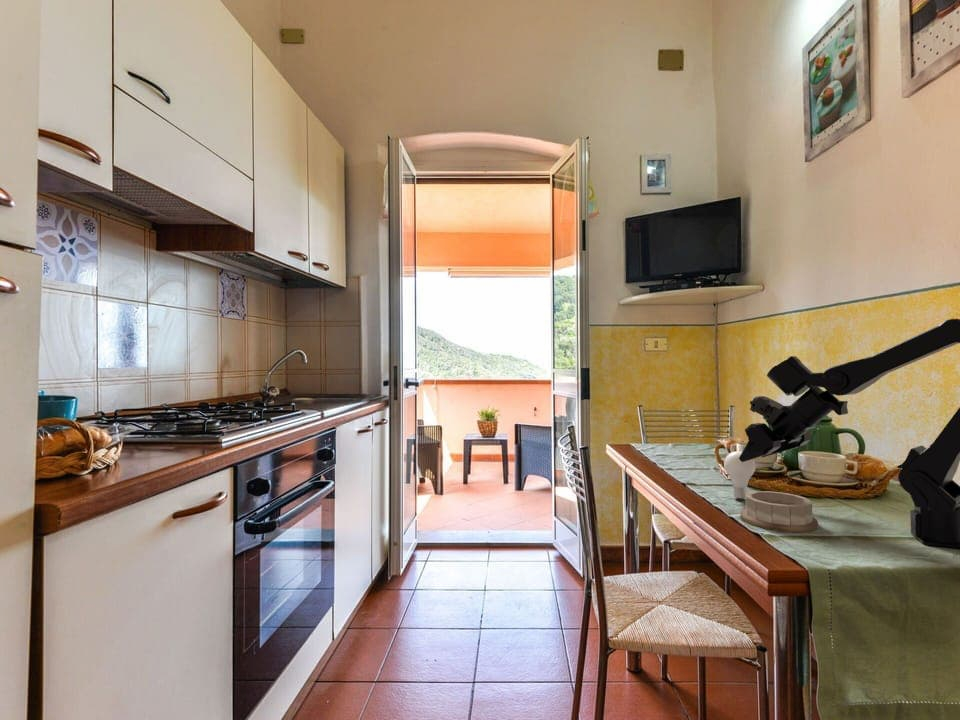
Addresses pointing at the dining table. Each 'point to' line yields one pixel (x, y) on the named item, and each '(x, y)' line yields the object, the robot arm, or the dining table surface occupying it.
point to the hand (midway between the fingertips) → (751, 457)
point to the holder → (779, 512)
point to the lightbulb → (739, 473)
